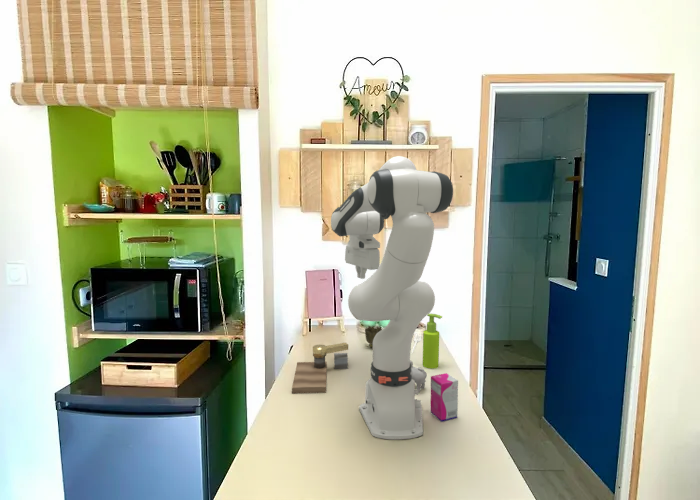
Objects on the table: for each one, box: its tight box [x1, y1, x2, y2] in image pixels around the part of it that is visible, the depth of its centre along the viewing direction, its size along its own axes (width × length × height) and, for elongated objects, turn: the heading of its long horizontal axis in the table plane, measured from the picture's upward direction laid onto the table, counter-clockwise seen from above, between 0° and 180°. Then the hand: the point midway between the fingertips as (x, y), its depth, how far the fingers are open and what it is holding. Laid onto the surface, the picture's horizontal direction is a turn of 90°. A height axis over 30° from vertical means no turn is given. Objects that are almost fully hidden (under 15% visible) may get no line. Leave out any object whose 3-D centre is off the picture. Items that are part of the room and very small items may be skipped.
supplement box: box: [430, 372, 459, 423], centre depth 116 cm, size 6×6×12 cm
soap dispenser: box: [422, 313, 443, 370], centre depth 150 cm, size 6×7×20 cm
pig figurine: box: [410, 359, 427, 394], centre depth 134 cm, size 5×13×11 cm, turn 55°
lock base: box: [291, 352, 349, 394], centre depth 141 cm, size 23×19×6 cm
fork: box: [410, 333, 422, 354], centre depth 173 cm, size 3×20×2 cm, turn 163°
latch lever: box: [312, 342, 349, 358], centre depth 147 cm, size 14×5×3 cm, turn 116°
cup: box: [364, 325, 383, 349], centre depth 169 cm, size 8×7×8 cm
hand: (361, 278), depth 151 cm, fingers closed
